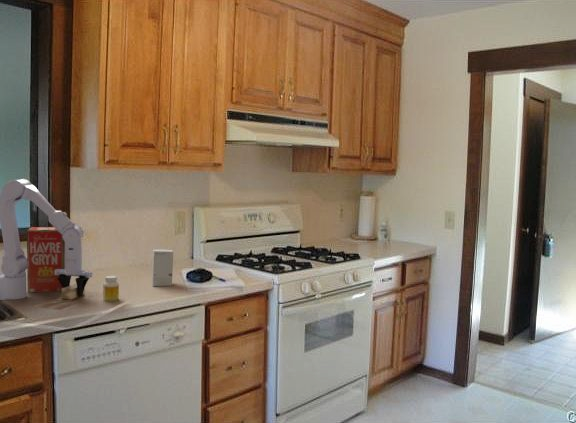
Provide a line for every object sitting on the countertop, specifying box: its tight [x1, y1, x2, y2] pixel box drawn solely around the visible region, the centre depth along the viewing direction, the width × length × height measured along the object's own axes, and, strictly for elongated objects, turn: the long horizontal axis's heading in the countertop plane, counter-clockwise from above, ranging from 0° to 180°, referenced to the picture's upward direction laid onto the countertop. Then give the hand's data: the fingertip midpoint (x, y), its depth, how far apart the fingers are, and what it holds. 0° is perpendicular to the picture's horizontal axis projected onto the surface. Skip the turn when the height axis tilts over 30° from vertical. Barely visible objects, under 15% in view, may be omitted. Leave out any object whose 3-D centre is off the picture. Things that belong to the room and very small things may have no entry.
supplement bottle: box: [102, 275, 120, 303], centre depth 195 cm, size 5×5×10 cm
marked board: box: [31, 294, 94, 311], centre depth 192 cm, size 11×20×1 cm, turn 168°
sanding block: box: [61, 283, 86, 300], centre depth 197 cm, size 4×8×4 cm, turn 168°
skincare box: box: [151, 248, 174, 287], centre depth 225 cm, size 8×6×15 cm
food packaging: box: [26, 226, 65, 293], centre depth 207 cm, size 13×9×25 cm
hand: (73, 295), depth 197 cm, fingers open, 5 cm apart
